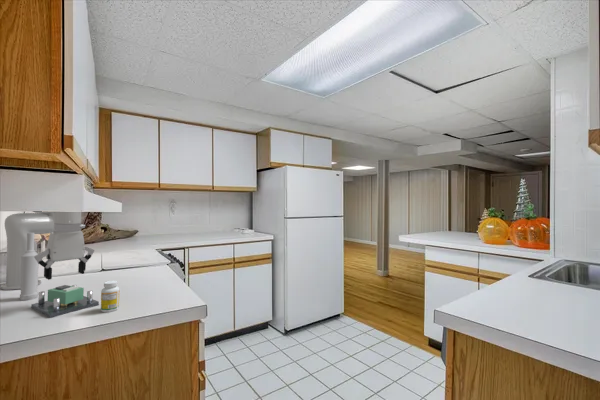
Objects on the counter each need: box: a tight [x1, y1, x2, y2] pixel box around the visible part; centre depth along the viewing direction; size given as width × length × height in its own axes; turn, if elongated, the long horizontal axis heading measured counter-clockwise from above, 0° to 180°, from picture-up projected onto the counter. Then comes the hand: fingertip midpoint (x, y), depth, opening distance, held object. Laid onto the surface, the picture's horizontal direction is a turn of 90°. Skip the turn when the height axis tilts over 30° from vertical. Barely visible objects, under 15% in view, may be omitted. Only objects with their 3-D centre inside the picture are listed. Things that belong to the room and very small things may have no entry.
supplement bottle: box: [100, 280, 120, 313], centre depth 100 cm, size 5×5×10 cm
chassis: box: [30, 284, 100, 319], centre depth 102 cm, size 16×14×5 cm
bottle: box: [19, 233, 40, 301], centre depth 110 cm, size 5×5×25 cm
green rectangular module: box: [47, 284, 85, 304], centre depth 102 cm, size 9×6×5 cm, turn 72°
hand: (65, 275), depth 103 cm, fingers open, 9 cm apart
